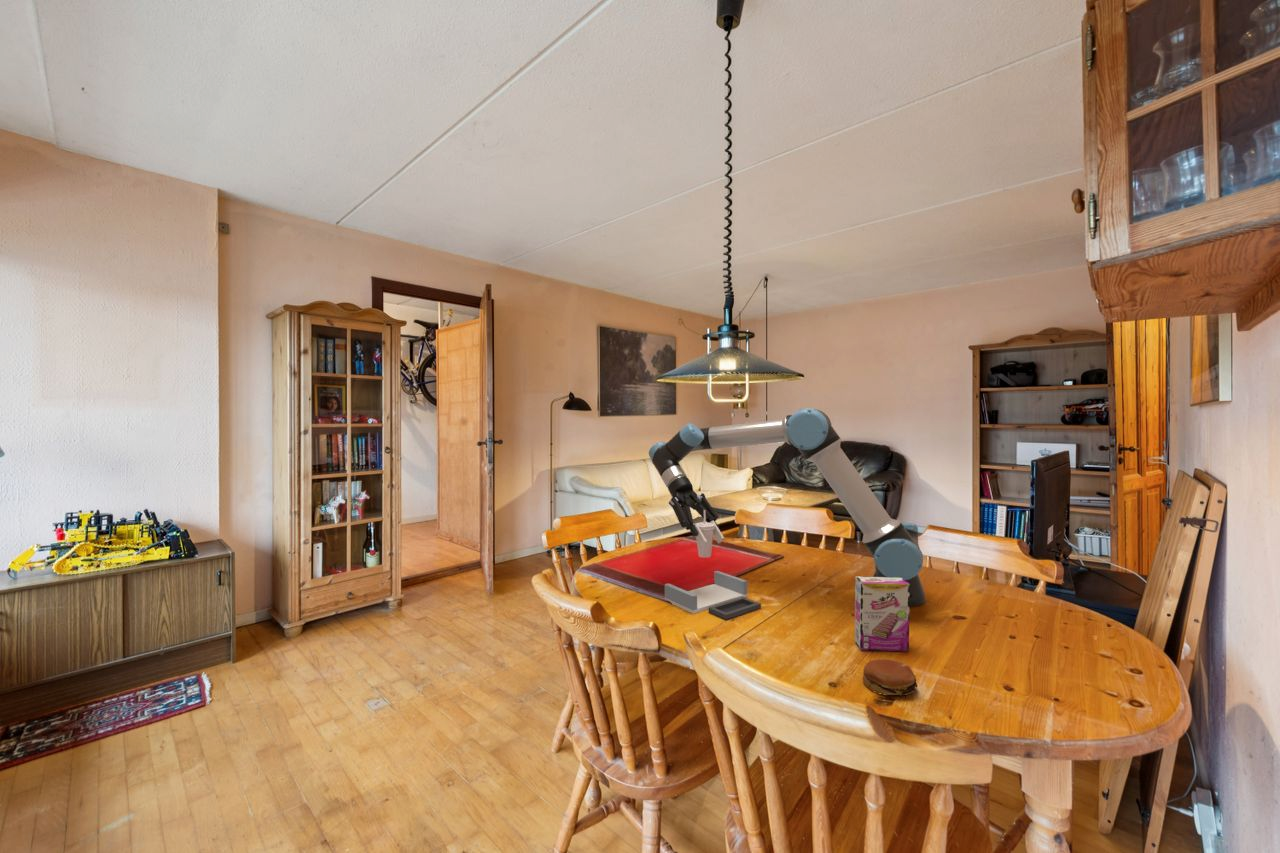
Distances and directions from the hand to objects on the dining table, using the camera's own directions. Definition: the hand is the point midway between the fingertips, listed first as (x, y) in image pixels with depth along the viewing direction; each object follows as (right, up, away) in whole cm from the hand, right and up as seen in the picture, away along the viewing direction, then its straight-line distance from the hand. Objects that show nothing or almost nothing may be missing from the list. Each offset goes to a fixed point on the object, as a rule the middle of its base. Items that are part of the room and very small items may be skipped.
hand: (712, 542), depth 152 cm
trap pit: (+5, -18, -7) cm, 20 cm away
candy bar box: (+36, -18, -31) cm, 51 cm away
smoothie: (-2, -5, +3) cm, 6 cm away
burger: (+29, -19, -48) cm, 60 cm away
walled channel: (-2, -18, +3) cm, 18 cm away
